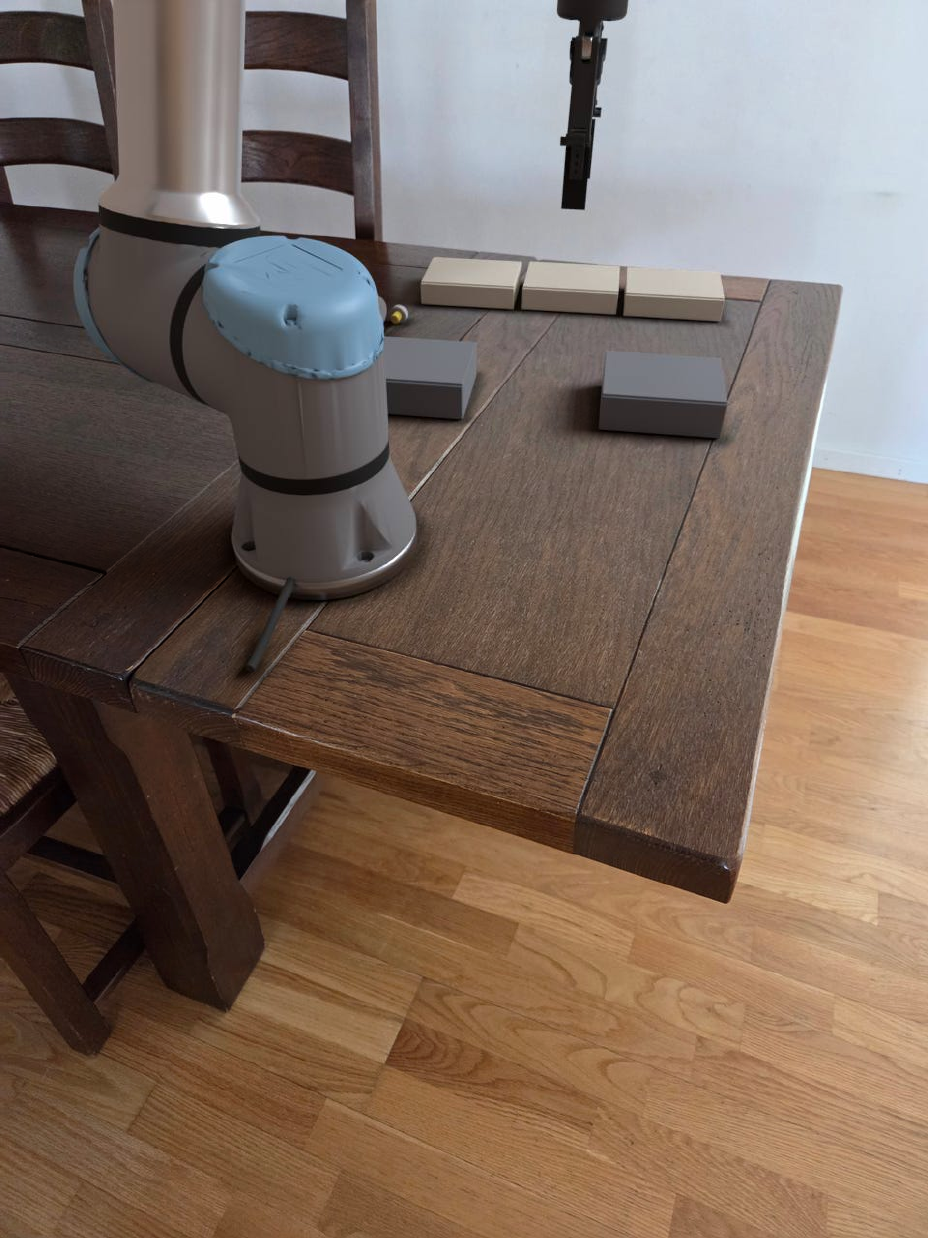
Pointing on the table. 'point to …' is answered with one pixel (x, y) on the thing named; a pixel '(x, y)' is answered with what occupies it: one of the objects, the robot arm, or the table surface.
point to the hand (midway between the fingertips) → (576, 192)
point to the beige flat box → (571, 288)
